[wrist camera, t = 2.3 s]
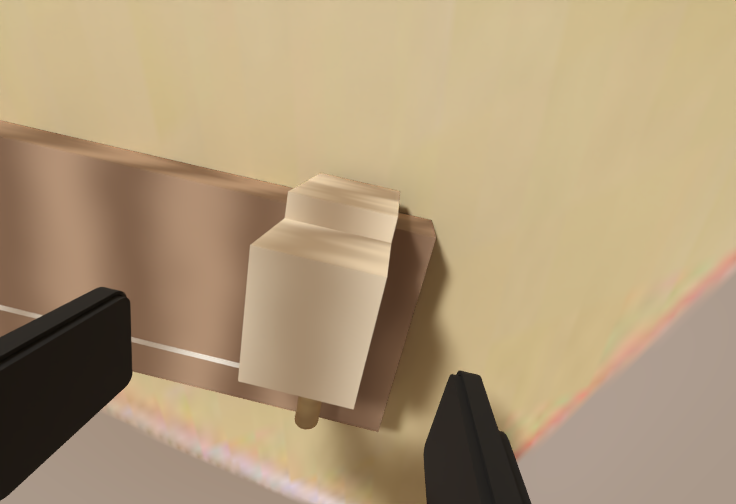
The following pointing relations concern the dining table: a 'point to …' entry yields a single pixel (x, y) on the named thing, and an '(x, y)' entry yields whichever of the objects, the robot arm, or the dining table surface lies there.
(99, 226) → the walnut board
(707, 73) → the dining table surface
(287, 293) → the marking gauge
